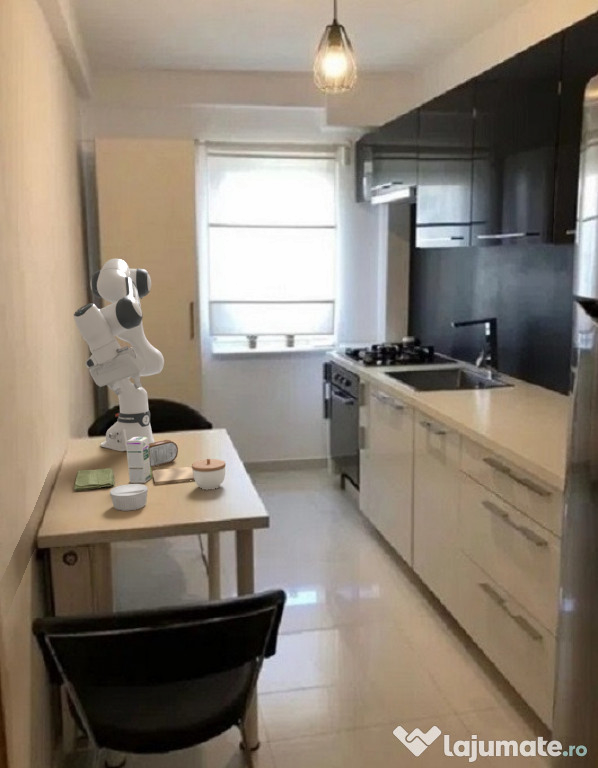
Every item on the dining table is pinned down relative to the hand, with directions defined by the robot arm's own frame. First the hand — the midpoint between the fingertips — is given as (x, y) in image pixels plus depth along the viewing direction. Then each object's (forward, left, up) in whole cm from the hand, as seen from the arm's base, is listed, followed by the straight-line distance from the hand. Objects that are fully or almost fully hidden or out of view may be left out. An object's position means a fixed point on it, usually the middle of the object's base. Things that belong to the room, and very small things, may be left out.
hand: (129, 391), depth 230 cm
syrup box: (-3, +5, -32) cm, 32 cm away
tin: (-10, +23, -32) cm, 40 cm away
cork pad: (+5, +13, -32) cm, 35 cm away
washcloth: (-16, -3, -32) cm, 36 cm away
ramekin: (+12, -16, -32) cm, 38 cm away
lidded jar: (+23, +9, -32) cm, 40 cm away
